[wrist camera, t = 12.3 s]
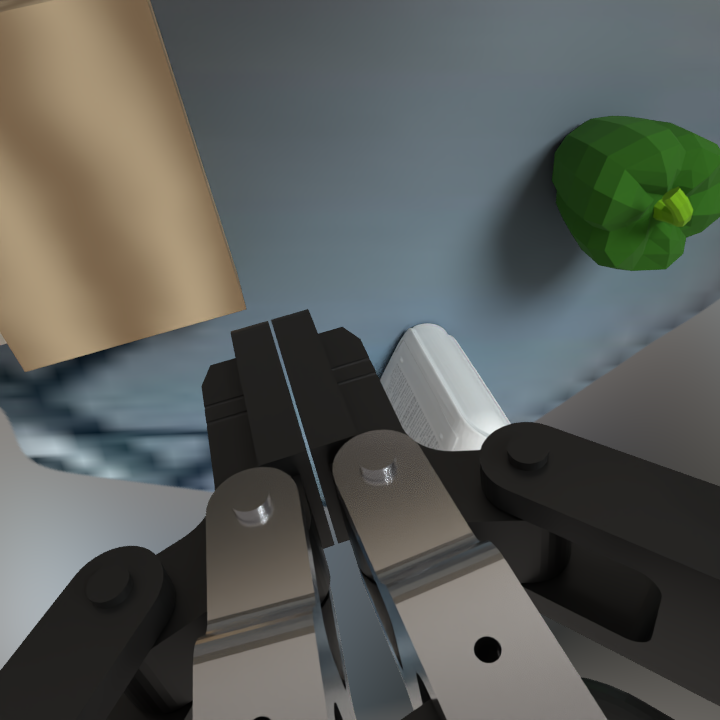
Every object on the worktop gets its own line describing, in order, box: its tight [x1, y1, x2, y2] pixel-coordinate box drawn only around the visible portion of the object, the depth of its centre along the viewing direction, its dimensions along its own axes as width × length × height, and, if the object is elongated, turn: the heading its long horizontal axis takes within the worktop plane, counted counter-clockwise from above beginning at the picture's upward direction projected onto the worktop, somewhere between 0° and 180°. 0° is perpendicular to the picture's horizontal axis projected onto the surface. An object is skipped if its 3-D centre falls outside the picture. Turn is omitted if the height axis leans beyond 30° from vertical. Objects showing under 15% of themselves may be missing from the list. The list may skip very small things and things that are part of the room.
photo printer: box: [380, 323, 511, 451], centre depth 43 cm, size 10×4×12 cm, turn 158°
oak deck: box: [0, 0, 246, 372], centre depth 32 cm, size 12×16×4 cm
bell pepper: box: [552, 116, 720, 271], centre depth 37 cm, size 8×8×10 cm
